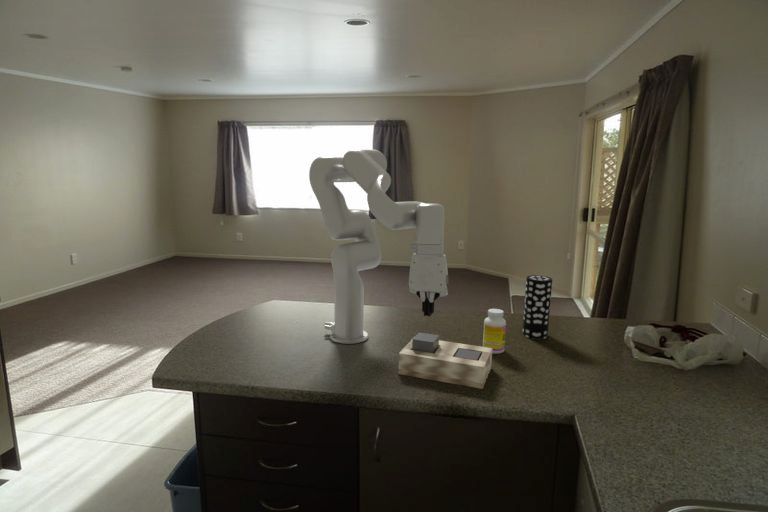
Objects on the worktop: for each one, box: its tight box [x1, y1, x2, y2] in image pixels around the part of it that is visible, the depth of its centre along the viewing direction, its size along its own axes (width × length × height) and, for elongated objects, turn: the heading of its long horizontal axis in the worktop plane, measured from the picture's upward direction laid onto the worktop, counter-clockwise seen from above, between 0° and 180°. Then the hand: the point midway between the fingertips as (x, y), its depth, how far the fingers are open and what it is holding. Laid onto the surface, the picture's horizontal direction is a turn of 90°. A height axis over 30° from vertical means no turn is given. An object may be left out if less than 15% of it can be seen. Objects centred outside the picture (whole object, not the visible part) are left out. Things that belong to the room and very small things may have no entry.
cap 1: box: [411, 332, 440, 354], centre depth 134 cm, size 6×6×4 cm
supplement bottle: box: [482, 308, 507, 355], centre depth 148 cm, size 7×7×13 cm
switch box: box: [397, 339, 493, 390], centre depth 133 cm, size 23×14×6 cm, turn 69°
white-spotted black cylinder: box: [522, 274, 553, 340], centre depth 162 cm, size 8×8×20 cm
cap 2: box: [455, 349, 481, 361], centre depth 131 cm, size 6×6×4 cm
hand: (428, 314), depth 132 cm, fingers closed
